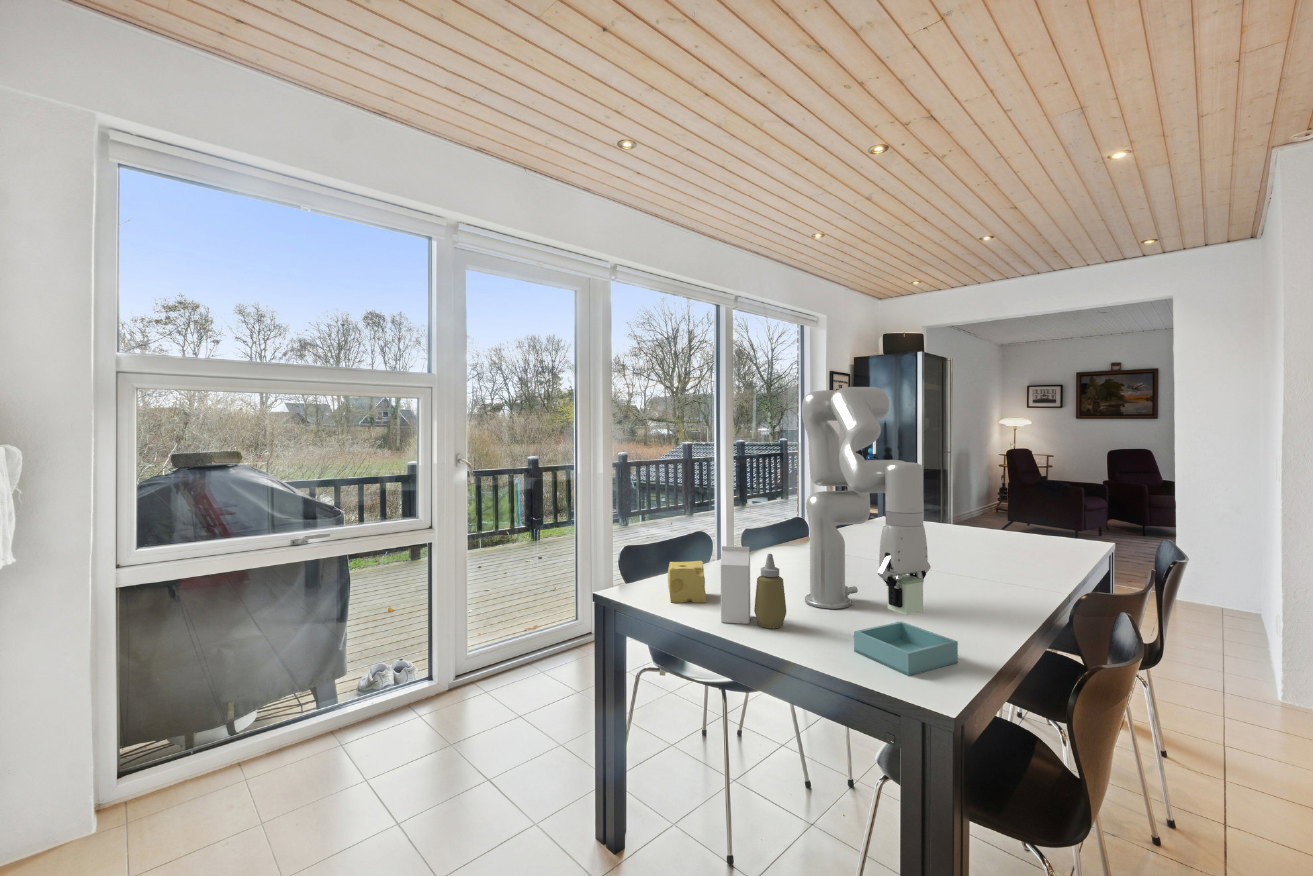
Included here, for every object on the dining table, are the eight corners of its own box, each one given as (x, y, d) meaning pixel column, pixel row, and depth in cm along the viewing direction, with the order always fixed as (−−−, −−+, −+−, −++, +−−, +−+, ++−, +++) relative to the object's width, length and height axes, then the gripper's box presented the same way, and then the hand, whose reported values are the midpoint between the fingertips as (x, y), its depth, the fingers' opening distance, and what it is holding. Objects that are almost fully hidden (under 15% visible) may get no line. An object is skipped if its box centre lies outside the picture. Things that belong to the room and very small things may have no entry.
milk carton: (749, 624, 149) (748, 549, 149) (721, 623, 151) (720, 548, 150) (750, 615, 156) (749, 544, 156) (723, 614, 158) (722, 543, 157)
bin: (901, 640, 137) (901, 621, 137) (957, 662, 124) (957, 641, 124) (854, 651, 131) (854, 631, 130) (908, 676, 117) (908, 653, 117)
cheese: (706, 603, 168) (705, 568, 168) (668, 603, 168) (667, 568, 168) (703, 593, 178) (703, 560, 178) (667, 593, 178) (667, 560, 178)
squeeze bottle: (752, 620, 153) (751, 550, 152) (783, 620, 152) (783, 550, 152) (756, 630, 144) (756, 557, 144) (789, 630, 144) (789, 557, 144)
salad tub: (904, 605, 130) (903, 573, 130) (923, 611, 126) (923, 579, 125) (886, 608, 128) (886, 576, 128) (906, 615, 123) (906, 581, 123)
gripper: (917, 515, 134) (918, 595, 134) (861, 520, 126) (862, 605, 126) (946, 519, 127) (947, 603, 127) (889, 525, 120) (890, 614, 120)
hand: (905, 603), depth 127 cm, fingers closed on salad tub, 5 cm apart
